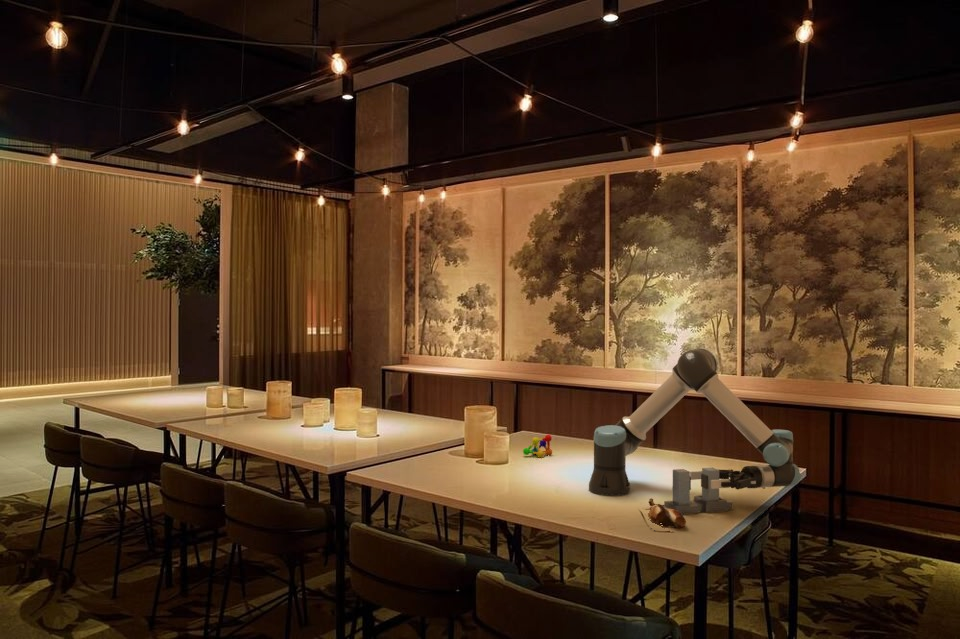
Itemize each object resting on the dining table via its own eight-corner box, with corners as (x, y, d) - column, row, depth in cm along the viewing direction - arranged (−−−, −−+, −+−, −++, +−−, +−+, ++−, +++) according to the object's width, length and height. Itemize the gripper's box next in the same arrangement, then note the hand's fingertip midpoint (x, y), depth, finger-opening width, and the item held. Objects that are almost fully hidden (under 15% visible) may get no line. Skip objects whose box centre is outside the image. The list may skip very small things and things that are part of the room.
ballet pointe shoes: (652, 514, 205) (632, 491, 233) (652, 537, 205) (633, 510, 233) (698, 514, 205) (673, 490, 233) (698, 536, 205) (673, 509, 233)
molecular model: (525, 462, 321) (545, 441, 327) (540, 470, 313) (561, 448, 320) (517, 446, 315) (538, 425, 321) (532, 454, 307) (553, 432, 314)
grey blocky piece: (676, 514, 224) (676, 473, 224) (664, 508, 231) (664, 468, 231) (735, 510, 229) (735, 470, 229) (721, 504, 237) (722, 465, 237)
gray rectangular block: (706, 503, 229) (707, 470, 229) (700, 500, 233) (700, 468, 233) (719, 502, 230) (719, 470, 230) (712, 499, 234) (712, 467, 234)
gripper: (779, 496, 224) (721, 500, 219) (735, 479, 248) (681, 482, 242) (780, 473, 224) (721, 477, 219) (735, 458, 247) (681, 461, 242)
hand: (700, 479), depth 230 cm, fingers open, 12 cm apart
